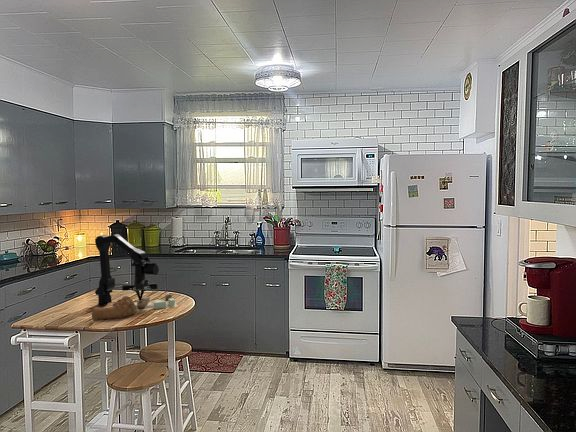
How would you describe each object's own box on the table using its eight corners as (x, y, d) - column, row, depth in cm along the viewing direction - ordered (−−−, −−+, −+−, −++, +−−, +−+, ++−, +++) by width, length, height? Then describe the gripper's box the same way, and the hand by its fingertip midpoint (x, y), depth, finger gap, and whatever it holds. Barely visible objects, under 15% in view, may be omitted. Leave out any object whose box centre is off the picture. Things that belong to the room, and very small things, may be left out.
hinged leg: (144, 308, 253) (143, 302, 253) (136, 308, 253) (136, 302, 253) (150, 301, 270) (150, 295, 270) (143, 301, 269) (143, 295, 269)
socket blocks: (154, 308, 254) (154, 302, 254) (152, 306, 260) (152, 300, 260) (175, 306, 258) (175, 300, 258) (173, 303, 264) (173, 298, 264)
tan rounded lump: (129, 328, 234) (140, 312, 248) (126, 310, 230) (138, 294, 244) (92, 327, 236) (106, 311, 250) (89, 309, 232) (102, 293, 246)
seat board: (134, 313, 250) (134, 305, 249) (130, 304, 269) (130, 297, 268) (178, 308, 259) (178, 300, 259) (171, 300, 278) (171, 293, 278)
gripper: (121, 277, 254) (121, 306, 255) (157, 275, 259) (157, 304, 260) (122, 273, 264) (122, 301, 265) (157, 272, 270) (157, 299, 270)
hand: (140, 301), depth 265 cm, fingers closed
